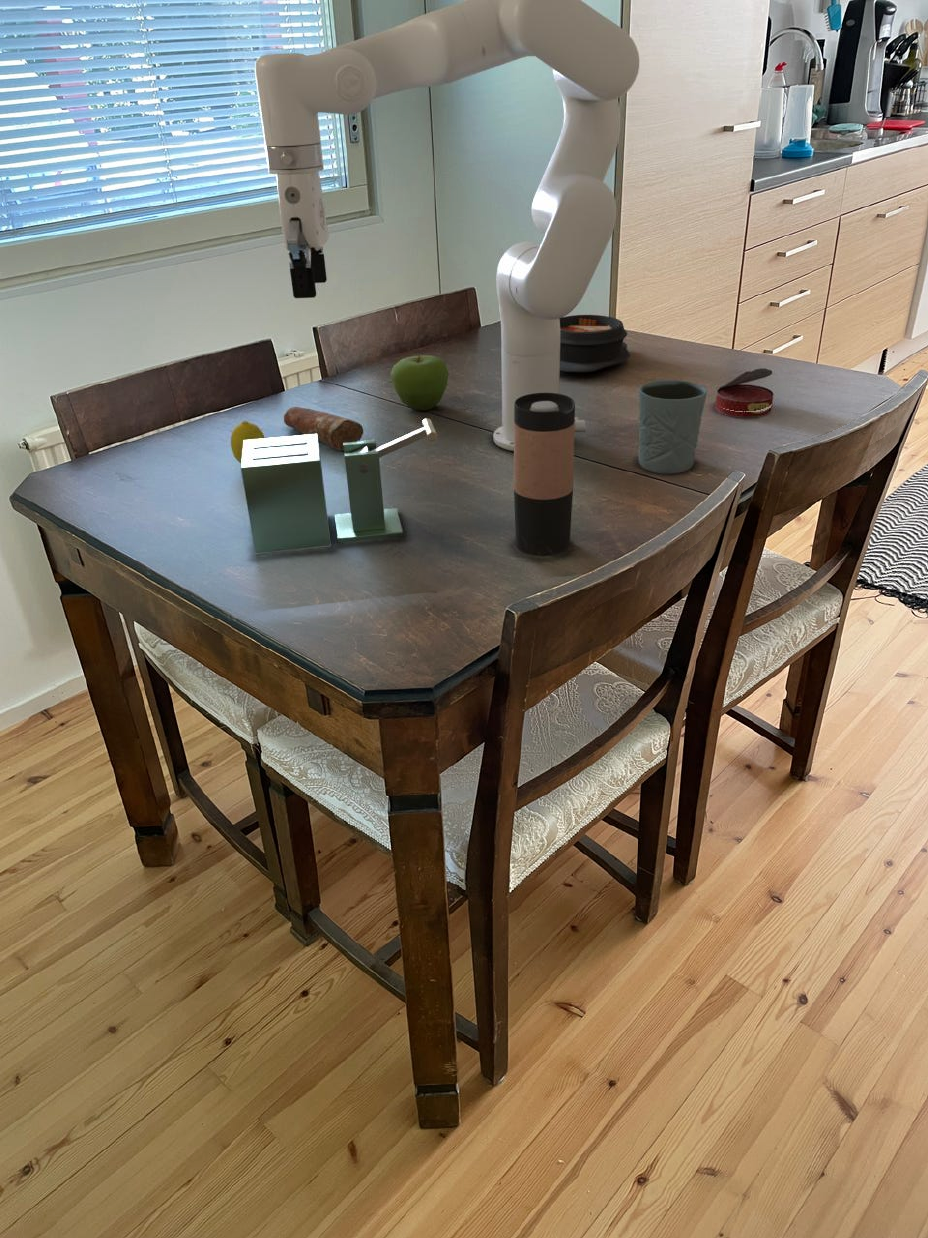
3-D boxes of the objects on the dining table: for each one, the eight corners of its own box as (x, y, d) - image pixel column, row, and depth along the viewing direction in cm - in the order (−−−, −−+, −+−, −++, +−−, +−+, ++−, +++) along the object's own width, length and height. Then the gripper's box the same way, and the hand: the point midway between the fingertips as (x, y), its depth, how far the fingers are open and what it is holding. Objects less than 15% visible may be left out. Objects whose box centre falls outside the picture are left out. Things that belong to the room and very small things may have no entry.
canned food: (723, 440, 167) (701, 392, 163) (726, 415, 175) (706, 370, 171) (785, 416, 161) (764, 367, 157) (786, 392, 169) (766, 344, 165)
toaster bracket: (397, 515, 134) (391, 434, 127) (403, 539, 127) (397, 455, 121) (335, 521, 133) (325, 440, 126) (338, 546, 126) (328, 461, 120)
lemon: (275, 463, 153) (268, 416, 148) (258, 476, 148) (250, 428, 144) (246, 460, 154) (238, 413, 150) (228, 472, 150) (220, 425, 146)
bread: (336, 457, 154) (332, 425, 151) (279, 429, 167) (275, 399, 164) (367, 447, 157) (364, 416, 154) (309, 420, 170) (306, 391, 167)
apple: (432, 394, 181) (429, 343, 175) (460, 408, 173) (459, 355, 168) (383, 406, 176) (379, 353, 171) (410, 420, 168) (407, 366, 163)
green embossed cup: (628, 471, 145) (633, 396, 138) (640, 448, 153) (645, 376, 147) (693, 478, 142) (701, 401, 135) (703, 454, 150) (710, 381, 143)
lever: (434, 428, 127) (427, 413, 125) (440, 442, 122) (433, 426, 121) (354, 464, 127) (347, 449, 126) (357, 479, 123) (349, 464, 122)
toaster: (328, 519, 133) (317, 432, 127) (331, 550, 125) (320, 459, 118) (257, 526, 132) (242, 439, 125) (255, 558, 124) (240, 467, 117)
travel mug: (510, 536, 127) (509, 393, 116) (565, 532, 127) (569, 390, 117) (518, 562, 120) (517, 414, 110) (576, 558, 121) (581, 410, 110)
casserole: (565, 344, 208) (566, 305, 204) (645, 352, 201) (648, 312, 196) (520, 375, 189) (520, 333, 185) (606, 385, 182) (608, 342, 177)
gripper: (311, 165, 118) (327, 302, 127) (331, 152, 133) (344, 276, 142) (253, 167, 119) (273, 304, 128) (279, 154, 133) (295, 278, 142)
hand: (310, 289), depth 135 cm, fingers open, 9 cm apart
